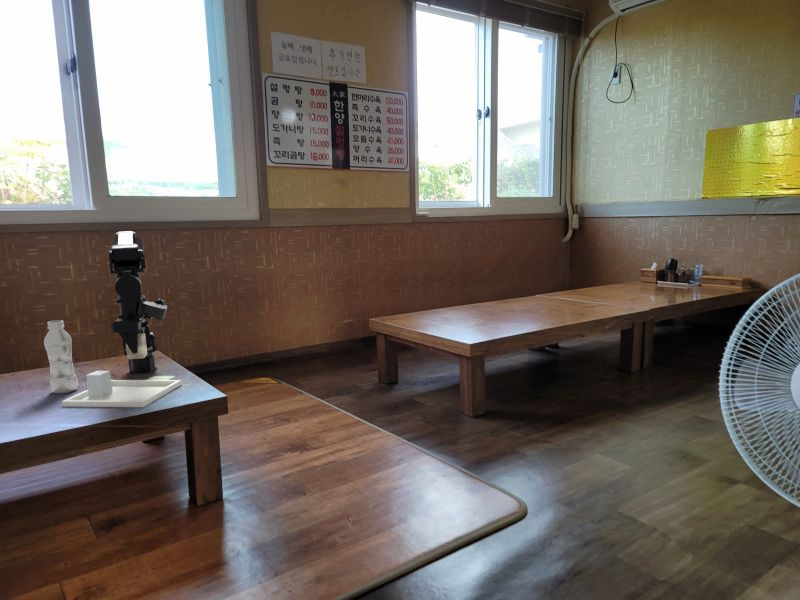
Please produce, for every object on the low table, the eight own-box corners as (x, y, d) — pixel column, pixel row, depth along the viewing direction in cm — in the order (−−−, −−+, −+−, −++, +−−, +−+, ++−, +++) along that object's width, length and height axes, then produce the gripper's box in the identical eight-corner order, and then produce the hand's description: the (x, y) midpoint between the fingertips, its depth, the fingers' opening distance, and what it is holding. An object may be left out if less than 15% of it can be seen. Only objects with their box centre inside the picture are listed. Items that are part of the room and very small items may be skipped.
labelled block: (127, 359, 145) (124, 337, 144) (131, 355, 149) (128, 333, 148) (144, 358, 146) (141, 335, 145) (147, 354, 150) (145, 332, 149)
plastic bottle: (67, 396, 148) (57, 323, 145) (45, 396, 149) (34, 323, 146) (84, 389, 154) (75, 318, 151) (63, 388, 155) (53, 319, 152)
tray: (62, 408, 138) (61, 401, 138) (109, 386, 156) (108, 379, 156) (143, 409, 135) (142, 402, 135) (182, 386, 153) (181, 380, 153)
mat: (141, 383, 157) (141, 382, 157) (153, 377, 163) (153, 376, 163) (164, 384, 156) (164, 382, 156) (175, 377, 162) (175, 376, 162)
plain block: (88, 397, 145) (86, 375, 144) (99, 392, 149) (96, 370, 148) (102, 397, 144) (100, 375, 143) (112, 392, 148) (110, 370, 147)
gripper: (155, 296, 137) (162, 357, 140) (169, 287, 155) (175, 340, 158) (107, 300, 135) (114, 361, 138) (126, 289, 153) (133, 344, 156)
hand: (137, 351), depth 147 cm, fingers closed on labelled block, 4 cm apart
